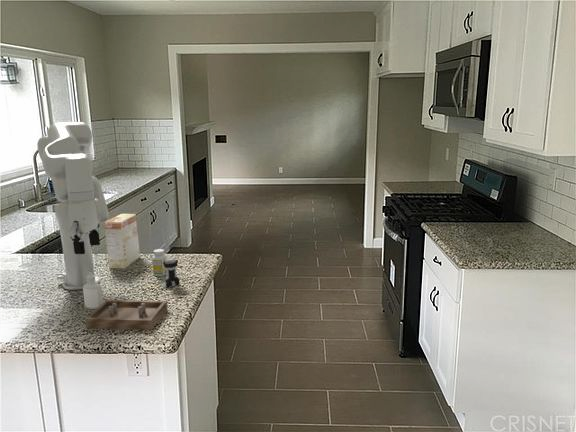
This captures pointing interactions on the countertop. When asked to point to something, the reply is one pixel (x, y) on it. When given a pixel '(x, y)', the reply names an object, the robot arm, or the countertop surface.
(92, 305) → the eye dropper bottle
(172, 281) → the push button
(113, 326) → the pin tray
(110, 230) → the coffeecake box
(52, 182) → the robot arm
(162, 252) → the supplement bottle
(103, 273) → the countertop surface
